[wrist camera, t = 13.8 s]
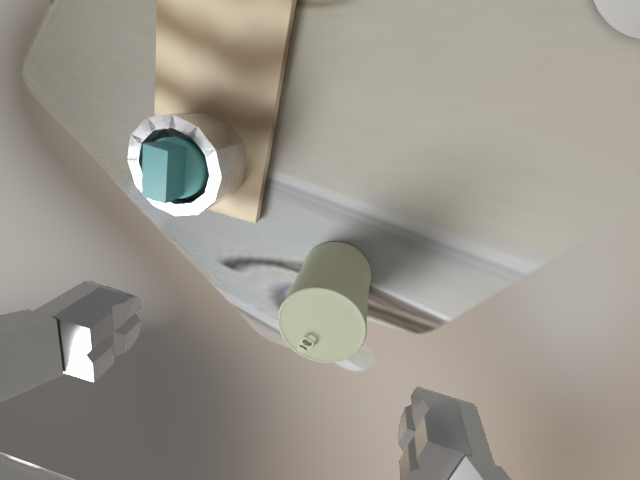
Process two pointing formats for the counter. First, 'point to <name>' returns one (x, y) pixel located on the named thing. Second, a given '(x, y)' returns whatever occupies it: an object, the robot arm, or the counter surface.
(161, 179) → the teal disc with post
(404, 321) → the counter surface
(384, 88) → the counter surface
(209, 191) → the white thick faceted ring
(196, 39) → the base plate
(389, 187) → the counter surface
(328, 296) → the can
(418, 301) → the counter surface
